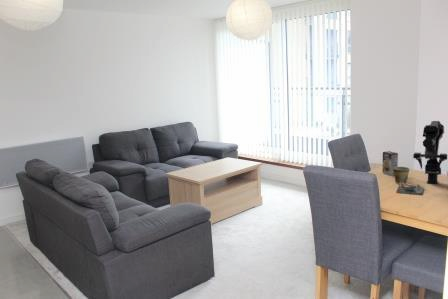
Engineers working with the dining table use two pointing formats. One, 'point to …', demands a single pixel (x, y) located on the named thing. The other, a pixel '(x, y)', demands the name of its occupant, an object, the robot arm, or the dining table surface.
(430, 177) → the robot arm
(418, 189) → the hub plate
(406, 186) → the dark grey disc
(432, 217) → the dining table surface
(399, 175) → the ceramic cup
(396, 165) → the coffee box
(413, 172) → the dining table surface
